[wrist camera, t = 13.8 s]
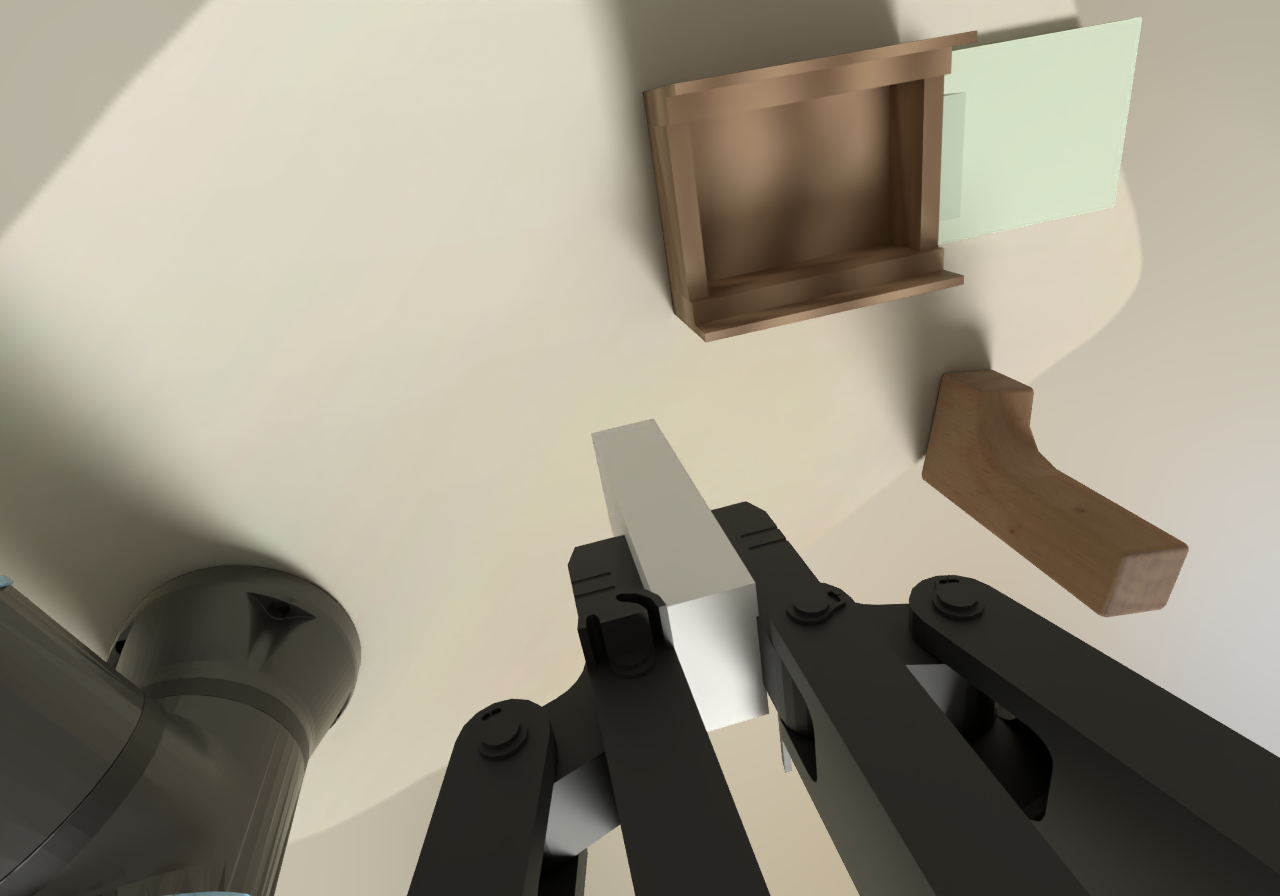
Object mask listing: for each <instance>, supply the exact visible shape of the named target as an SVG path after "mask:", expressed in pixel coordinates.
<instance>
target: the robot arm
mask: <svg viewBox="0 0 1280 896" xmlns="http://www.w3.org/2000/svg"><path fill="white" fill-rule="evenodd" d="M591 435H592V439H593V444H594V449H595V453H596V458H597V463H598V467H599V472H600V477H601V482H602V486H603V491H604V496H605V500H606V505H607V510H608V514H609V519H610V524H611V528H612V532H613V535H614V537H613V538H609V539H605V540H601V541H597V542H594V543H590V544H586V545H582V546H578V547H575V548H574V551H573V553H572V556H571V558H570V561H569V563H568V569H569V574H570V579H571V583H572V588H573V593H574V598H575V603H576V607H577V612H578V617H579V618H578V629H577V630H578V634H579V638H580V641H581V645H582V649H583V653H584V657H585V661H586V663H585V666H584V670H583V672H582V674H581V675H580V677H579V678H578V680H577V681H576V683H575V684H574V685H573V686H572V687H571V688H570V689H569V690H568V691H566V692H565V693H563V694H562V695H561V696H559V697H558V698H556V699H555V700H553V701H551V702H549V703H548V704H546V705H544V706H543V707H541V706H540V705H538V704H536V703H534V702H531V701H529V700H523V699H509V700H505V701H501V702H497V703H494V704H492V705H490V706H488V707H486V708H485V709H483V710H481V711H479V712H478V713H476V714H475V715H474V716H473V717H472V718H471V719H470V720H469V721H468V722H467V723H466V724H465V725H464V727H463V728H462V730H461V732H460V734H459V736H458V738H457V740H456V742H455V745H454V748H453V751H452V754H451V758H450V761H449V764H448V767H447V770H446V774H445V777H444V780H443V783H442V786H441V790H440V793H439V796H438V799H437V802H436V805H435V808H434V812H433V815H432V818H431V821H430V824H429V828H428V831H427V834H426V837H425V840H424V843H423V847H422V850H421V853H420V856H419V860H418V863H417V866H416V869H415V872H414V876H413V878H412V882H411V885H410V888H409V891H408V894H407V896H584V887H585V875H586V865H587V854H588V853H587V847H589V846H590V845H591V844H593V843H594V842H596V841H597V840H599V839H600V838H601V837H603V836H604V835H606V834H607V833H608V832H610V831H611V830H613V829H614V828H616V827H617V826H619V825H621V829H622V834H623V839H624V844H625V848H626V853H627V858H628V863H629V868H630V872H631V877H632V882H633V887H634V891H635V896H770V893H769V891H768V888H767V886H766V883H765V880H764V878H763V875H762V873H761V870H760V868H759V865H758V863H757V860H756V857H755V855H754V852H753V849H752V847H751V844H750V842H749V839H748V837H747V834H746V831H745V829H744V826H743V824H742V821H741V819H740V816H739V813H738V811H737V808H736V806H735V803H734V801H733V798H732V795H731V793H730V790H729V788H728V785H727V783H726V780H725V778H724V775H723V772H722V770H721V767H720V765H719V762H718V759H717V757H716V754H715V752H714V749H713V746H712V744H711V741H710V739H709V736H708V734H707V732H709V731H712V730H715V729H719V728H722V727H725V726H729V725H732V724H736V723H739V722H742V721H745V720H749V719H752V718H755V717H759V716H762V715H766V714H769V709H768V699H767V692H768V694H769V696H770V698H771V700H772V702H773V704H774V706H775V708H776V710H777V712H778V721H779V731H780V741H781V752H782V761H783V765H784V769H785V772H789V771H792V768H791V759H792V761H793V763H794V765H795V767H796V769H797V771H798V773H799V775H800V776H801V779H802V780H803V783H804V785H805V787H806V789H807V791H808V793H809V795H810V796H811V799H812V801H813V802H814V805H815V807H816V809H817V810H818V813H819V814H820V817H821V819H822V821H823V823H824V825H825V827H826V829H827V831H828V833H829V835H830V837H831V839H832V841H833V843H834V845H835V847H836V849H837V851H838V853H839V855H840V857H841V859H842V861H843V863H844V865H845V867H846V869H847V871H848V873H849V875H850V877H851V879H852V881H853V883H854V885H855V887H856V889H857V891H858V893H859V895H860V896H1280V758H1279V757H1277V756H1276V755H1274V754H1273V753H1271V752H1269V751H1268V750H1266V749H1264V748H1262V747H1261V746H1259V745H1257V744H1256V743H1254V742H1252V741H1251V740H1249V739H1247V738H1246V737H1244V736H1242V735H1240V734H1239V733H1237V732H1235V731H1234V730H1232V729H1230V728H1229V727H1227V726H1225V725H1223V724H1222V723H1220V722H1218V721H1217V720H1215V719H1213V718H1212V717H1210V716H1208V715H1207V714H1205V713H1203V712H1202V711H1200V710H1198V709H1197V708H1195V707H1193V706H1191V705H1190V704H1188V703H1187V702H1185V701H1183V700H1181V699H1180V698H1178V697H1176V696H1175V695H1173V694H1171V693H1170V692H1168V691H1166V690H1165V689H1163V688H1161V687H1159V686H1158V685H1156V684H1154V683H1153V682H1151V681H1149V680H1148V679H1146V678H1144V677H1143V676H1141V675H1139V674H1138V673H1136V672H1134V671H1132V670H1130V669H1129V668H1127V667H1126V666H1124V665H1122V664H1121V663H1119V662H1117V661H1116V660H1114V659H1112V658H1111V657H1109V656H1107V655H1105V654H1104V653H1102V652H1100V651H1099V650H1097V649H1095V648H1094V647H1092V646H1090V645H1089V644H1087V643H1085V642H1084V641H1082V640H1080V639H1079V638H1077V637H1075V636H1073V635H1072V634H1070V633H1068V632H1067V631H1065V630H1063V629H1062V628H1060V627H1058V626H1057V625H1055V624H1053V623H1051V622H1050V621H1048V620H1047V619H1045V618H1043V617H1041V616H1040V615H1038V614H1036V613H1035V612H1033V611H1031V610H1030V609H1028V608H1026V607H1025V606H1023V605H1021V604H1020V603H1018V602H1016V601H1014V600H1013V599H1011V598H1009V597H1008V596H1006V595H1004V594H1002V593H1001V592H999V591H998V590H996V589H994V588H992V587H991V586H989V585H987V584H984V583H982V582H980V581H977V580H975V579H972V578H967V577H962V576H957V575H947V576H946V575H945V576H935V577H932V578H928V579H925V580H922V581H921V582H920V583H918V584H917V585H916V586H915V587H914V588H913V589H912V591H911V595H910V597H909V604H886V605H870V604H860V603H855V602H854V601H853V599H852V598H851V597H849V595H847V594H846V593H845V592H844V591H842V590H841V589H839V588H837V587H834V586H831V585H829V584H826V583H820V582H819V581H818V579H817V578H816V577H815V575H814V574H813V573H812V571H811V570H810V569H809V568H808V566H807V565H806V564H805V562H804V561H803V560H802V558H801V557H800V556H799V554H798V553H797V552H796V550H795V549H794V548H793V547H792V545H791V544H790V543H789V541H786V537H785V536H784V535H783V534H782V532H781V531H780V530H779V529H777V526H776V524H775V523H774V522H773V520H772V519H771V518H770V517H769V515H768V514H767V513H766V511H764V510H762V509H760V508H758V507H756V506H754V505H752V504H750V503H748V502H747V501H745V502H741V503H738V504H734V505H730V506H726V507H722V508H718V509H714V510H710V509H709V507H708V506H707V504H706V502H705V501H704V499H703V498H702V496H701V494H700V493H699V491H698V489H697V488H696V486H695V485H694V483H693V481H692V480H691V478H690V477H689V475H688V473H687V472H686V470H685V469H684V467H683V465H682V464H681V462H680V460H679V459H678V457H677V456H676V454H675V452H674V451H673V449H672V448H671V446H670V444H669V443H668V441H667V440H666V438H665V436H664V435H663V433H662V431H661V430H660V428H659V427H658V425H657V423H656V422H655V420H654V419H650V420H646V421H642V422H638V423H633V424H629V425H625V426H621V427H617V428H612V429H608V430H604V431H600V432H596V433H591ZM12 583H13V581H12V580H11V579H10V578H8V577H6V576H4V575H0V896H274V893H275V890H276V885H277V881H278V878H279V874H280V870H281V866H282V862H283V858H284V854H285V850H286V846H287V842H288V838H289V834H290V830H291V826H292V822H293V818H294V814H295V810H296V806H297V802H298V798H299V794H300V790H301V786H302V782H303V778H304V774H305V771H306V767H307V763H308V760H309V758H310V757H311V755H312V754H313V752H314V750H315V749H316V747H317V746H318V745H319V743H320V742H321V740H322V739H323V737H324V736H325V734H326V733H327V731H328V730H329V729H330V728H331V727H332V726H333V725H334V724H335V723H336V721H337V720H338V719H339V717H340V716H341V715H342V713H343V712H344V710H345V709H346V707H347V705H348V704H349V701H350V699H351V697H352V695H353V692H354V689H355V685H356V681H357V676H358V672H359V667H360V662H361V646H360V641H359V637H358V634H357V631H356V628H355V626H354V624H353V622H352V621H351V619H350V617H349V616H348V615H347V613H346V612H345V611H344V609H343V608H342V607H341V606H340V605H339V604H338V603H337V602H336V601H335V600H334V599H333V598H332V597H330V596H329V595H328V594H327V593H325V592H324V591H322V590H321V589H319V588H318V587H316V586H314V585H313V584H311V583H309V582H307V581H305V580H303V579H300V578H298V577H295V576H293V575H290V574H287V573H284V572H280V571H276V570H272V569H267V568H260V567H251V566H223V567H214V568H207V569H203V570H198V571H195V572H191V573H188V574H185V575H182V576H180V577H177V578H175V579H173V580H171V581H169V582H167V583H165V584H163V585H162V586H160V587H158V588H157V589H155V590H154V591H153V592H151V593H150V594H149V595H148V596H147V597H145V598H144V599H143V600H142V601H141V602H140V604H139V605H138V606H137V607H136V608H135V610H134V611H133V612H132V614H131V615H130V617H129V618H128V619H127V621H126V622H125V624H124V625H123V626H122V628H121V629H120V631H119V632H118V634H117V636H116V638H115V640H114V642H113V644H112V647H111V649H110V652H109V656H108V661H107V663H106V662H105V661H104V660H103V659H101V658H100V657H99V656H98V655H96V654H95V653H94V652H93V651H92V650H90V649H89V648H88V647H87V646H85V645H84V644H83V643H82V642H80V641H79V640H78V639H77V638H76V637H74V636H73V635H72V634H71V633H69V632H68V631H67V630H66V629H64V628H63V627H62V626H61V625H60V624H58V623H57V622H56V621H55V620H53V619H52V618H51V617H50V616H48V615H47V614H46V613H45V612H43V611H42V610H41V609H40V608H39V607H37V606H36V605H35V604H34V603H32V602H31V601H30V600H29V599H27V598H26V597H25V596H24V595H23V594H21V593H20V592H19V591H18V590H16V589H15V588H14V587H13V586H11V584H12Z"/></svg>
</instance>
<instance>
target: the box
mask: <svg viewBox="0 0 1280 896" xmlns="http://www.w3.org/2000/svg"><path fill="white" fill-rule="evenodd" d="M973 42H977V31H971V32H966V33H960V34H954V35H949V36H943V37H937V38H931V39H926V40H920V41H914V42H909V43H903V44H897V45H892V46H886V47H880V48H875V49H869V50H863V51H858V52H852V53H846V54H841V55H835V56H829V57H823V58H818V59H812V60H806V61H801V62H795V63H789V64H784V65H778V66H772V67H767V68H761V69H755V70H750V71H744V72H738V73H733V74H727V75H721V76H715V77H710V78H704V79H698V80H693V81H687V82H681V83H676V84H672V85H668V86H664V87H660V88H657V89H653V90H649V91H646V92H643V95H644V102H645V109H646V116H647V124H648V131H649V138H650V145H651V152H652V159H653V166H654V174H655V181H656V188H657V195H658V202H659V209H660V216H661V224H662V231H663V238H664V245H665V252H666V259H667V266H668V274H669V281H670V288H671V295H672V302H673V309H674V314H675V315H676V316H677V317H678V318H680V319H681V320H682V321H683V322H684V323H685V324H686V325H687V326H688V327H689V328H691V329H692V330H693V331H694V332H695V333H696V334H697V335H698V336H699V337H701V338H702V339H703V340H704V341H705V342H710V341H714V340H719V339H723V338H728V337H732V336H737V335H741V334H745V333H750V332H754V331H759V330H763V329H768V328H772V327H776V326H781V325H785V324H790V323H794V322H799V321H803V320H807V319H812V318H816V317H821V316H825V315H830V314H834V313H838V312H843V311H847V310H852V309H856V308H861V307H865V306H869V305H874V304H878V303H883V302H887V301H892V300H896V299H900V298H905V297H909V296H914V295H918V294H923V293H927V292H931V291H936V290H940V289H945V288H949V287H954V286H958V285H962V284H964V276H963V275H959V274H956V273H952V272H949V271H945V270H943V264H944V248H940V247H938V238H939V211H940V183H941V156H942V128H943V100H944V75H947V74H951V65H952V46H957V45H962V44H968V43H973Z"/></svg>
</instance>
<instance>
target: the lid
mask: <svg viewBox="0 0 1280 896" xmlns="http://www.w3.org/2000/svg"><path fill="white" fill-rule="evenodd" d="M1141 22H1142V17H1138V18H1133V19H1128V20H1122V21H1116V22H1110V23H1105V24H1099V25H1094V26H1088V27H1083V28H1077V29H1072V30H1066V31H1061V32H1055V33H1050V34H1044V35H1039V36H1033V37H1028V38H1022V39H1017V40H1011V41H1005V42H1000V43H994V44H989V45H983V46H978V47H972V48H967V49H961V50H956V51H952V65H951V74H947V75H944V100H943V128H942V156H941V183H940V211H939V238H938V245H941V244H946V243H951V242H955V241H960V240H964V239H969V238H974V237H978V236H983V235H987V234H992V233H997V232H1001V231H1006V230H1010V229H1015V228H1020V227H1024V226H1029V225H1033V224H1038V223H1043V222H1047V221H1052V220H1056V219H1061V218H1066V217H1070V216H1075V215H1079V214H1084V213H1089V212H1093V211H1098V210H1103V209H1107V208H1112V207H1114V206H1115V199H1116V192H1117V185H1118V179H1119V172H1120V165H1121V158H1122V151H1123V144H1124V138H1125V131H1126V124H1127V118H1128V111H1129V103H1130V97H1131V90H1132V84H1133V77H1134V70H1135V63H1136V57H1137V50H1138V43H1139V36H1140V30H1141Z"/></svg>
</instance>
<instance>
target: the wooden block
mask: <svg viewBox="0 0 1280 896" xmlns="http://www.w3.org/2000/svg"><path fill="white" fill-rule="evenodd" d="M1033 395H1034V392H1033V389H1032V388H1031V387H1029V386H1027V385H1025V384H1022V383H1020V382H1018V381H1016V380H1014V379H1011V378H1009V377H1007V376H1005V375H1003V374H1000V373H998V372H996V371H994V370H985V371H967V372H950V373H945V374H944V375H943V377H942V381H941V386H940V391H939V396H938V400H937V405H936V410H935V414H934V419H933V424H932V429H931V433H930V438H929V443H928V447H927V452H926V457H925V462H924V466H923V471H922V478H923V480H925V481H926V482H927V483H929V484H930V485H931V486H932V487H934V488H935V489H936V490H938V491H939V492H940V493H941V494H943V495H944V496H945V497H947V498H948V499H949V500H951V501H952V502H953V503H955V504H956V505H957V506H958V507H960V508H961V509H962V510H963V511H965V512H966V513H967V514H969V515H970V516H971V517H973V518H974V519H975V520H976V521H978V522H979V523H980V524H982V525H983V526H984V527H986V528H987V529H988V530H989V531H991V532H992V533H993V534H995V535H996V536H997V537H998V538H1000V539H1001V540H1002V541H1004V542H1005V543H1006V544H1008V545H1009V546H1010V547H1011V548H1013V549H1014V550H1016V551H1017V552H1018V553H1019V554H1021V555H1022V556H1024V558H1026V559H1027V560H1028V561H1030V562H1031V563H1032V564H1033V565H1035V566H1036V567H1037V568H1039V569H1040V570H1041V571H1043V572H1044V573H1045V574H1047V575H1048V576H1049V577H1050V578H1052V579H1053V580H1054V581H1056V582H1057V583H1058V584H1059V585H1061V586H1062V587H1064V588H1065V589H1066V590H1067V591H1068V592H1070V593H1071V594H1073V595H1074V596H1075V597H1076V598H1078V599H1079V600H1080V601H1081V602H1083V603H1084V604H1085V605H1087V606H1088V607H1089V608H1090V609H1092V610H1093V611H1094V612H1096V613H1097V614H1098V615H1101V616H1104V617H1111V616H1118V615H1125V614H1132V613H1139V612H1146V611H1152V610H1159V609H1162V608H1163V607H1164V606H1165V605H1166V604H1167V601H1168V599H1169V597H1170V594H1171V592H1172V589H1173V587H1174V585H1175V582H1176V580H1177V577H1178V575H1179V572H1180V570H1181V568H1182V565H1183V563H1184V560H1185V558H1186V556H1187V553H1188V546H1187V545H1186V544H1185V543H1184V542H1182V541H1180V540H1178V539H1177V538H1175V537H1173V536H1172V535H1169V534H1168V533H1166V532H1165V531H1163V530H1161V529H1159V528H1158V527H1156V526H1154V525H1152V524H1151V523H1149V522H1147V521H1146V520H1143V519H1142V518H1140V517H1139V516H1137V515H1135V514H1133V513H1132V512H1130V511H1128V510H1126V509H1125V508H1123V507H1121V506H1120V505H1118V504H1116V503H1114V502H1113V501H1111V500H1109V499H1107V498H1106V497H1104V496H1102V495H1100V494H1099V493H1097V492H1095V491H1093V490H1092V489H1090V488H1088V487H1087V486H1085V485H1083V484H1081V483H1080V482H1078V481H1076V480H1074V479H1073V478H1071V477H1069V476H1067V475H1066V474H1064V473H1062V472H1060V471H1059V470H1057V469H1056V468H1055V467H1054V466H1053V465H1052V464H1051V463H1050V462H1049V461H1048V460H1047V459H1046V458H1045V457H1044V456H1043V455H1042V454H1041V453H1040V452H1039V451H1038V449H1037V446H1036V443H1035V440H1034V437H1033V435H1032V432H1031V429H1030V418H1031V410H1032V402H1033Z"/></svg>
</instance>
